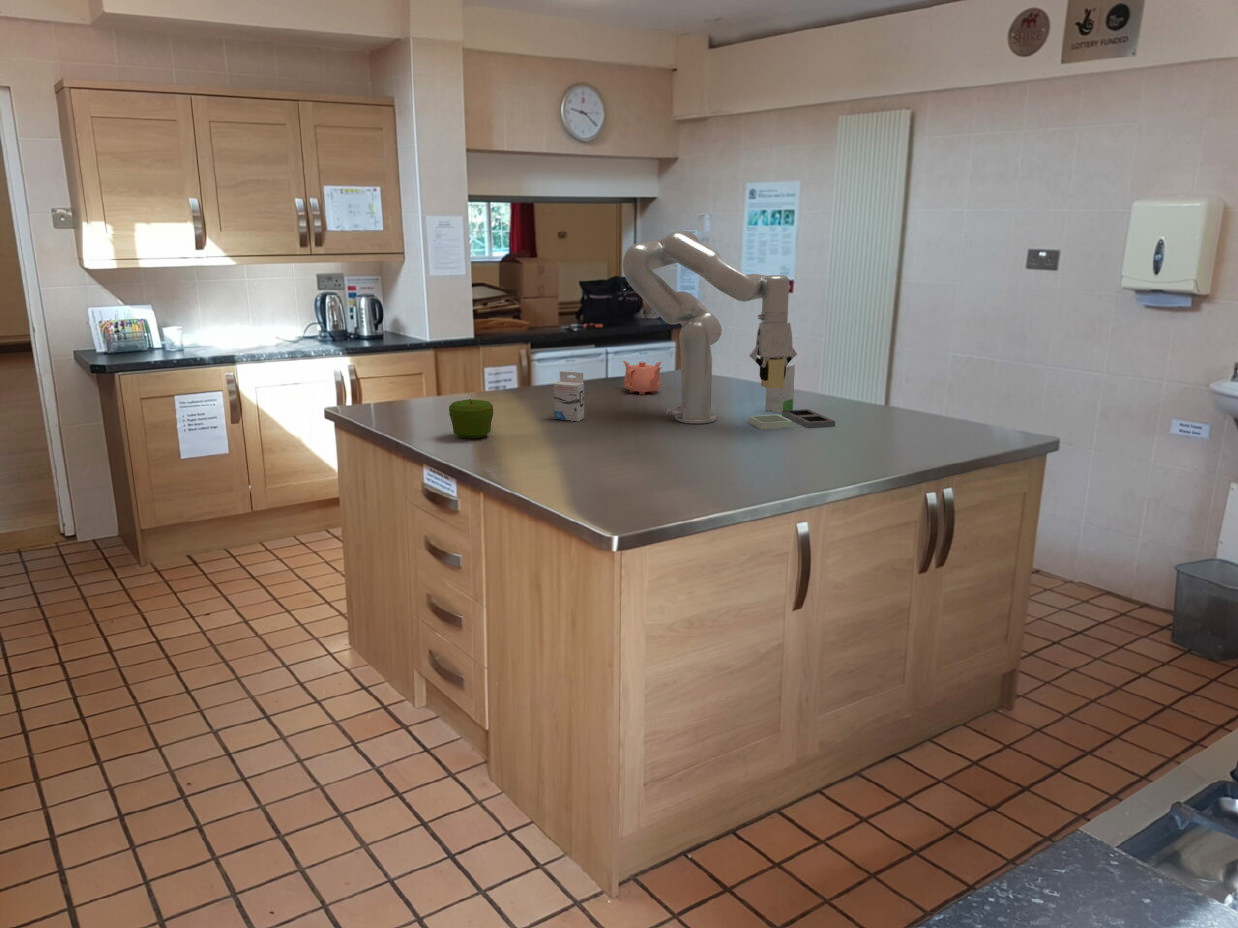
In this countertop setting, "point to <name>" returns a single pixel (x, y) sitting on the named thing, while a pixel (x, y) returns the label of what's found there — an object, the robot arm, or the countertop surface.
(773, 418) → the tray
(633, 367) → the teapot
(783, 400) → the skincare box
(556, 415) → the ink box
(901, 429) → the countertop surface
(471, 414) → the apple
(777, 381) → the pale yellow tall block
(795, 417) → the grey metal tray
